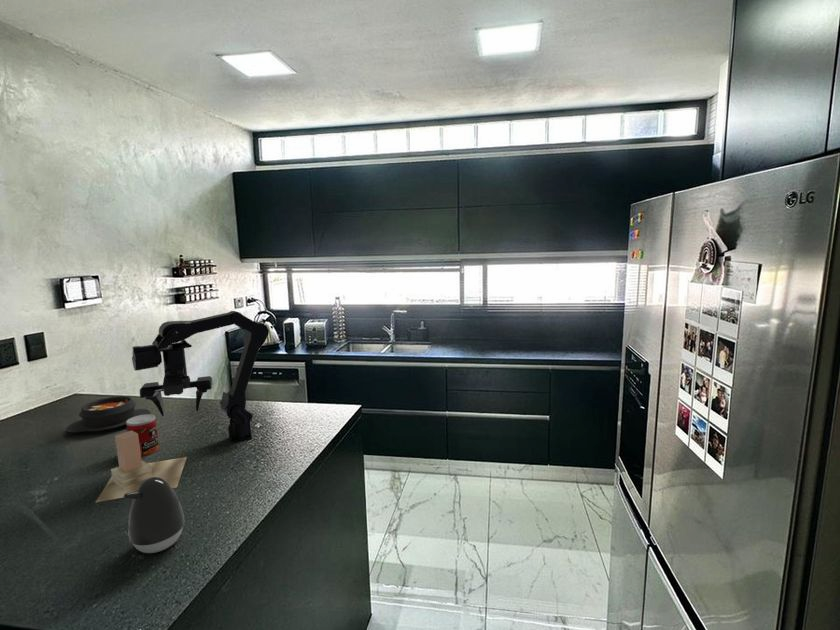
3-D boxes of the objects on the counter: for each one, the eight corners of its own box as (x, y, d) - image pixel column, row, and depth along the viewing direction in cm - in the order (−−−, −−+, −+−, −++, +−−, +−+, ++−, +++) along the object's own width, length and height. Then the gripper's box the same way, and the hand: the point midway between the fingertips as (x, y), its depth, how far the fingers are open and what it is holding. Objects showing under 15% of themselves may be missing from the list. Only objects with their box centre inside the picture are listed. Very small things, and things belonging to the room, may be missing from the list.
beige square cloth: (187, 458, 131) (186, 456, 131) (177, 489, 115) (176, 487, 115) (117, 470, 125) (116, 468, 125) (95, 504, 109) (95, 502, 109)
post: (135, 462, 121) (131, 430, 119) (142, 466, 119) (137, 433, 117) (119, 468, 118) (114, 435, 116) (125, 473, 115) (121, 439, 114)
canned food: (146, 459, 132) (141, 424, 130) (124, 457, 133) (119, 423, 132) (165, 447, 139) (161, 414, 137) (144, 445, 141) (140, 413, 139)
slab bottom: (140, 470, 124) (140, 464, 123) (152, 477, 120) (151, 471, 120) (112, 481, 118) (111, 475, 118) (124, 489, 114) (123, 483, 114)
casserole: (151, 409, 173) (148, 389, 171) (151, 425, 157) (148, 403, 156) (71, 424, 160) (67, 402, 158) (62, 443, 144) (58, 419, 143)
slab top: (140, 464, 123) (139, 458, 123) (151, 471, 120) (151, 465, 119) (111, 475, 118) (110, 469, 118) (123, 483, 114) (122, 476, 114)
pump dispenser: (120, 551, 92) (110, 484, 89) (170, 523, 100) (162, 462, 98) (146, 568, 86) (136, 498, 84) (196, 538, 95) (188, 473, 93)
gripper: (131, 375, 120) (138, 428, 122) (206, 367, 126) (211, 418, 128) (141, 364, 130) (147, 414, 132) (210, 358, 136) (215, 405, 139)
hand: (180, 413), depth 133 cm, fingers open, 9 cm apart
